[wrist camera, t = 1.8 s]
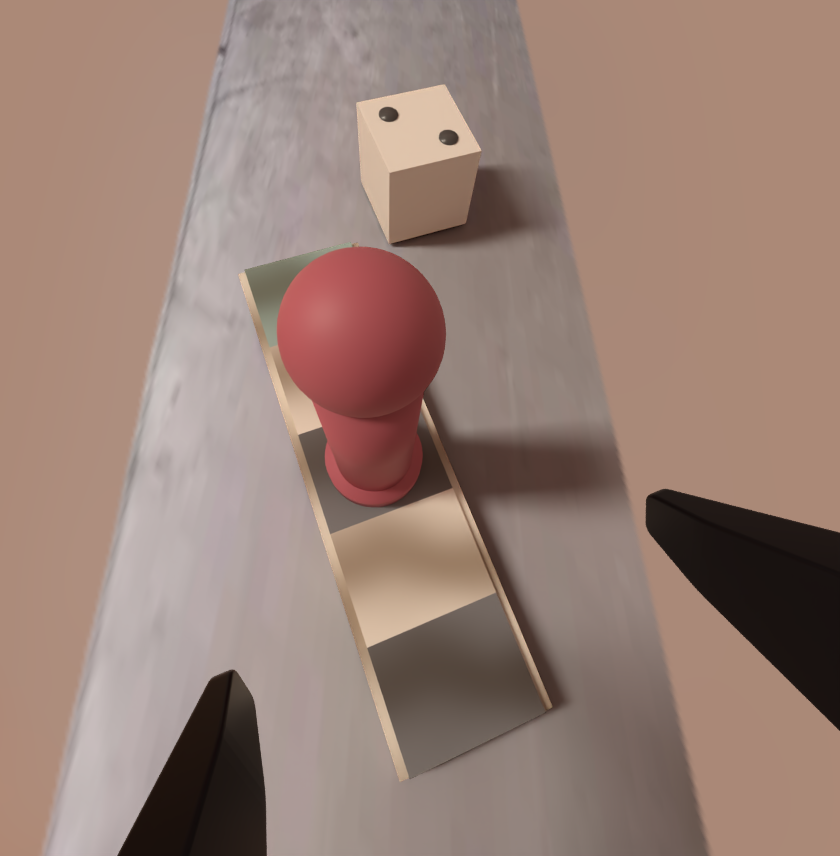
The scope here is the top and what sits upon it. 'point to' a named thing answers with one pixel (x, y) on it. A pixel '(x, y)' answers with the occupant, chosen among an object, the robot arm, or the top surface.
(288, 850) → the top surface
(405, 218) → the die
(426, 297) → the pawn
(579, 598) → the top surface
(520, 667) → the board
